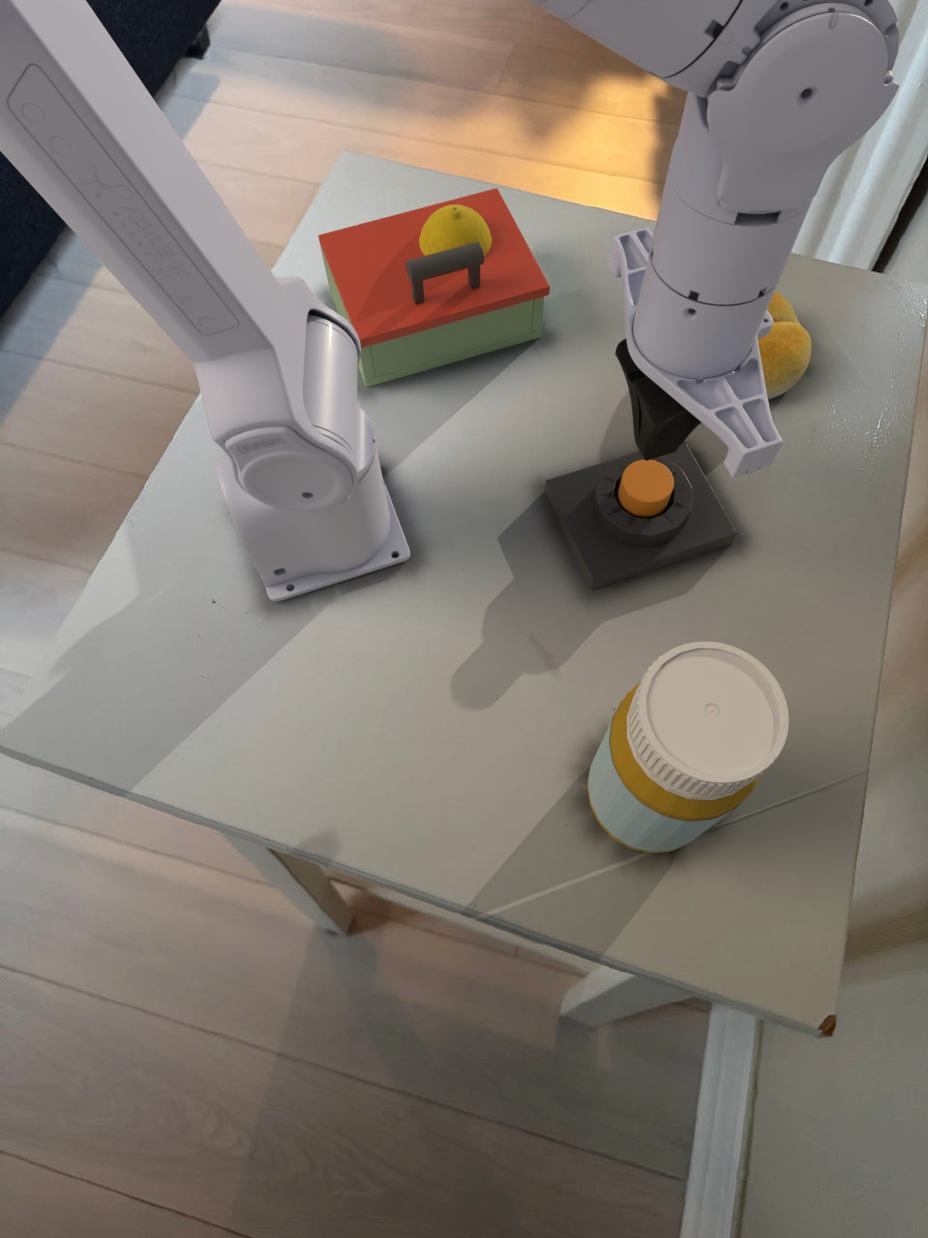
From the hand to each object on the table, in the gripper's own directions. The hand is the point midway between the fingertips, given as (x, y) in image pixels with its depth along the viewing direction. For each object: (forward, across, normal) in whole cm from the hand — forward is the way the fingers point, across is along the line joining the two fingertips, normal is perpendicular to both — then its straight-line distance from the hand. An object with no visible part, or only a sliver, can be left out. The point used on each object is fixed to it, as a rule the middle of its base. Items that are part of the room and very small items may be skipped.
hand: (655, 447), depth 48 cm
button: (+5, 0, 0) cm, 5 cm away
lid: (+3, +21, +7) cm, 22 cm away
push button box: (+8, 0, 0) cm, 8 cm away
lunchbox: (+8, +21, +7) cm, 24 cm away
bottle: (+8, -17, +7) cm, 20 cm away
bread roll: (+8, +10, -13) cm, 18 cm away
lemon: (+3, +22, +5) cm, 23 cm away
